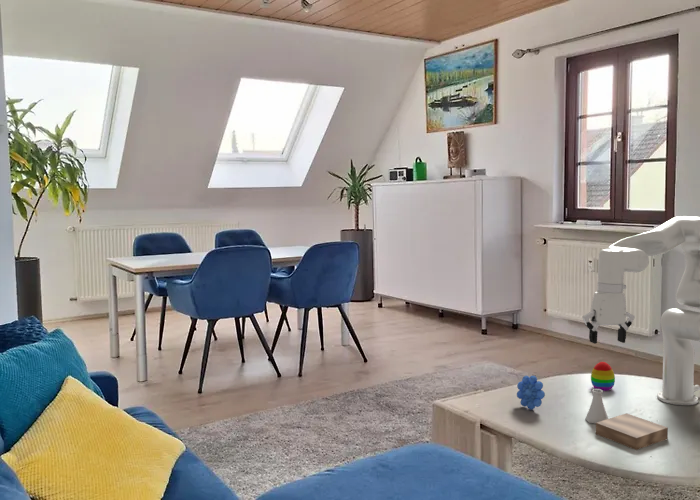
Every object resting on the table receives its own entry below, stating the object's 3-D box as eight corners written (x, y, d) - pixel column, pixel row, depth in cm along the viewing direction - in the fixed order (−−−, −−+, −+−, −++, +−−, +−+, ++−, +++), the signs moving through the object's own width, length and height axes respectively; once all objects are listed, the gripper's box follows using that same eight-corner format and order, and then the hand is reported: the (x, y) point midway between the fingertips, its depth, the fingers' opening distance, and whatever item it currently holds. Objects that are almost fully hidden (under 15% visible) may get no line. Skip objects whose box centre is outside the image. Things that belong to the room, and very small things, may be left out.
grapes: (553, 411, 216) (553, 376, 215) (538, 416, 212) (539, 380, 211) (526, 402, 226) (526, 368, 225) (512, 406, 222) (512, 371, 221)
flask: (611, 425, 203) (611, 394, 202) (586, 424, 204) (587, 393, 203) (607, 417, 210) (607, 387, 209) (583, 416, 211) (583, 386, 210)
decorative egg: (598, 383, 243) (598, 357, 242) (619, 388, 237) (619, 361, 236) (586, 388, 238) (586, 362, 237) (607, 393, 232) (607, 366, 231)
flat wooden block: (626, 425, 203) (626, 413, 203) (667, 440, 191) (667, 427, 191) (595, 435, 197) (595, 422, 196) (636, 451, 185) (636, 438, 184)
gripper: (627, 286, 209) (625, 339, 211) (578, 287, 206) (575, 340, 208) (642, 290, 202) (639, 344, 203) (591, 290, 199) (588, 345, 200)
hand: (607, 342), depth 206 cm, fingers open, 9 cm apart
